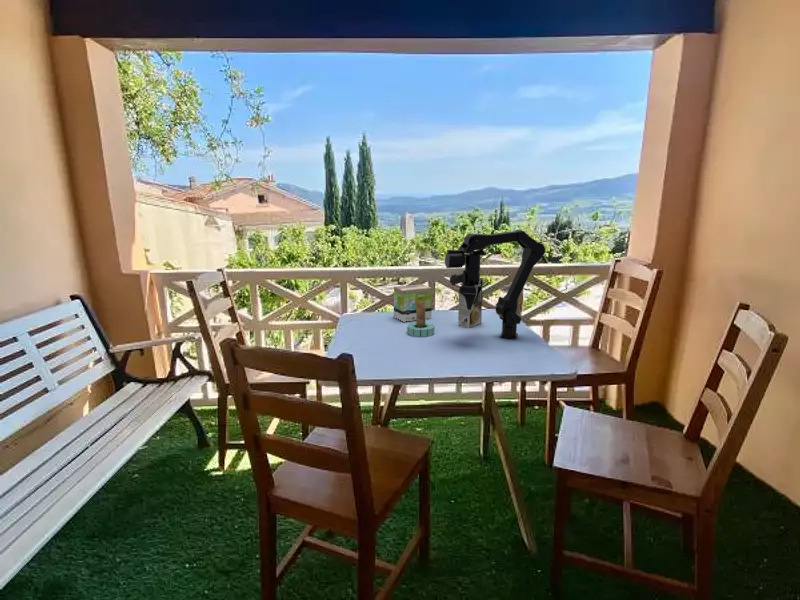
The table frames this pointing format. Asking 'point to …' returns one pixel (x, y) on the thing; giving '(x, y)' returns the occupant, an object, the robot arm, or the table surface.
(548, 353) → the table surface
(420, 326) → the walnut peg
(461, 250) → the robot arm
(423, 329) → the teal bead
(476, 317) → the coffee box
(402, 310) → the tea box
